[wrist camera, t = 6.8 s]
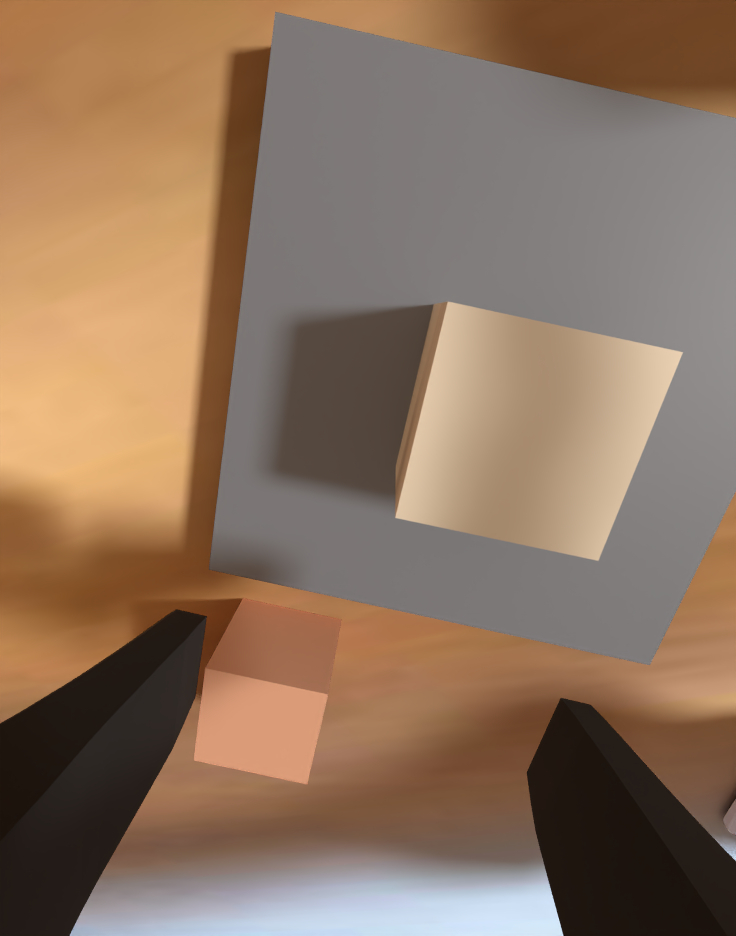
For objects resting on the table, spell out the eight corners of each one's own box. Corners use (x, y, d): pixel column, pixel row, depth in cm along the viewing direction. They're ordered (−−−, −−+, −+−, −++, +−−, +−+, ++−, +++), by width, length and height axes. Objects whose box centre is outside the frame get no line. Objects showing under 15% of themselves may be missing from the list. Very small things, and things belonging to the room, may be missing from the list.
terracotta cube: (341, 618, 19) (327, 694, 15) (324, 696, 20) (307, 784, 17) (243, 597, 19) (205, 668, 15) (231, 676, 20) (193, 760, 17)
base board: (847, 172, 13) (901, 156, 12) (630, 637, 18) (649, 665, 17) (288, 44, 13) (275, 11, 12) (223, 549, 18) (208, 569, 17)
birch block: (604, 340, 14) (683, 351, 10) (548, 498, 15) (598, 560, 12) (433, 303, 14) (447, 301, 10) (395, 466, 15) (395, 518, 11)
